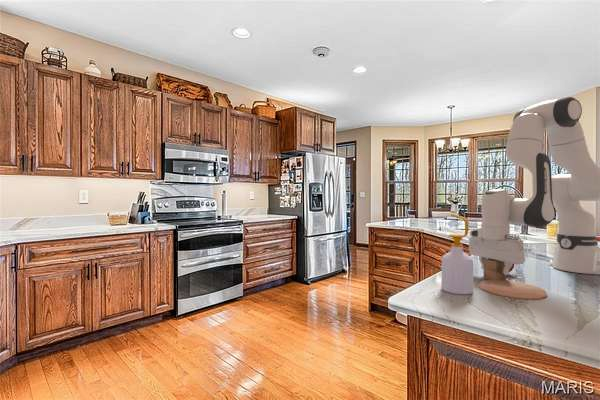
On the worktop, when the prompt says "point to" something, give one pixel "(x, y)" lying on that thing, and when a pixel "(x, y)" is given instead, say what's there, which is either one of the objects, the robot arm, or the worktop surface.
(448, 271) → the soap bottle
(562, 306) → the worktop surface
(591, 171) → the robot arm
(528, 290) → the plate
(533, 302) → the worktop surface
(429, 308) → the worktop surface
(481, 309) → the worktop surface
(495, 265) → the block
